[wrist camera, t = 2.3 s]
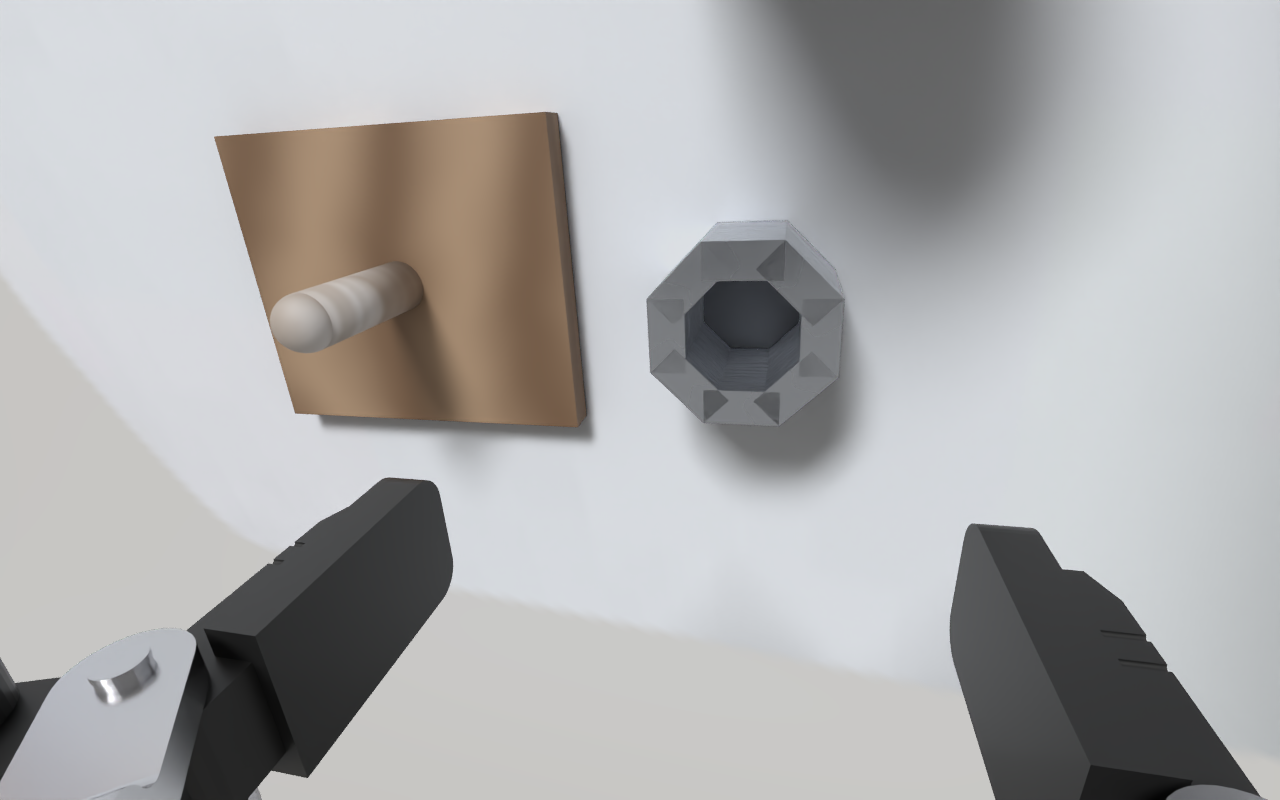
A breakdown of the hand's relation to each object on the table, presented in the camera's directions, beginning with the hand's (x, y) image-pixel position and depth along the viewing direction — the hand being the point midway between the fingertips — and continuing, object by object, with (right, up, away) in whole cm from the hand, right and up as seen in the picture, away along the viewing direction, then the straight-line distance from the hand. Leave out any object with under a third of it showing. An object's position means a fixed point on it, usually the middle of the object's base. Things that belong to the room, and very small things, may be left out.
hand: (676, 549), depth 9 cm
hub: (+4, +6, +14) cm, 16 cm away
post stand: (-10, +7, +17) cm, 21 cm away
